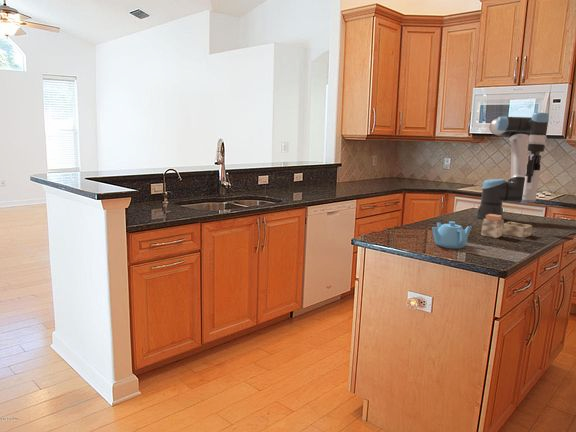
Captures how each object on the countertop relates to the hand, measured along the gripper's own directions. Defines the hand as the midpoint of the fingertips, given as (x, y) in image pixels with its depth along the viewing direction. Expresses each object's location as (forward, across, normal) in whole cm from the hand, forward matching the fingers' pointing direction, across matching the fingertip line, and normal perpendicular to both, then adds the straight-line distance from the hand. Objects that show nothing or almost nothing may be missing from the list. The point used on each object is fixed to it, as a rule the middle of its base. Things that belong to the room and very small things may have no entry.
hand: (530, 188), depth 241 cm
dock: (+22, -20, +3) cm, 30 cm away
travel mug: (+7, 0, 0) cm, 7 cm away
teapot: (+23, -64, +13) cm, 69 cm away
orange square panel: (+15, -28, +7) cm, 33 cm away
